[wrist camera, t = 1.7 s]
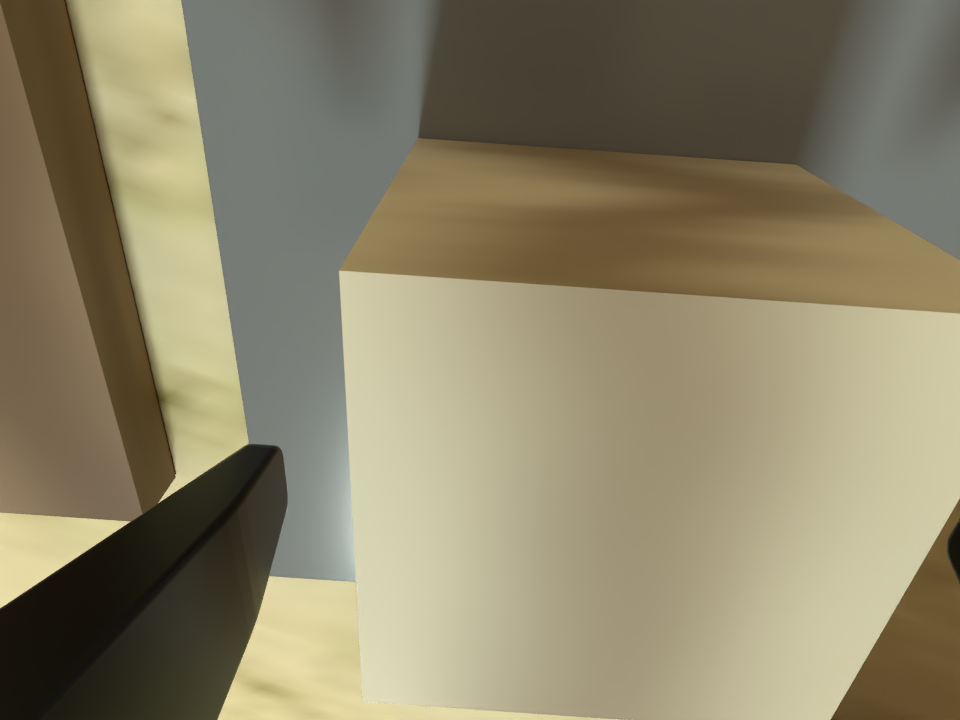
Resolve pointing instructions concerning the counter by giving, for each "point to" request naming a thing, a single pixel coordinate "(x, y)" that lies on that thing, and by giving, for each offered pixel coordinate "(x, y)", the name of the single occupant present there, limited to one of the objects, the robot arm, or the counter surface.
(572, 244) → the oak block
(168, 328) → the counter surface
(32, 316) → the walnut pad
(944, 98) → the tile
